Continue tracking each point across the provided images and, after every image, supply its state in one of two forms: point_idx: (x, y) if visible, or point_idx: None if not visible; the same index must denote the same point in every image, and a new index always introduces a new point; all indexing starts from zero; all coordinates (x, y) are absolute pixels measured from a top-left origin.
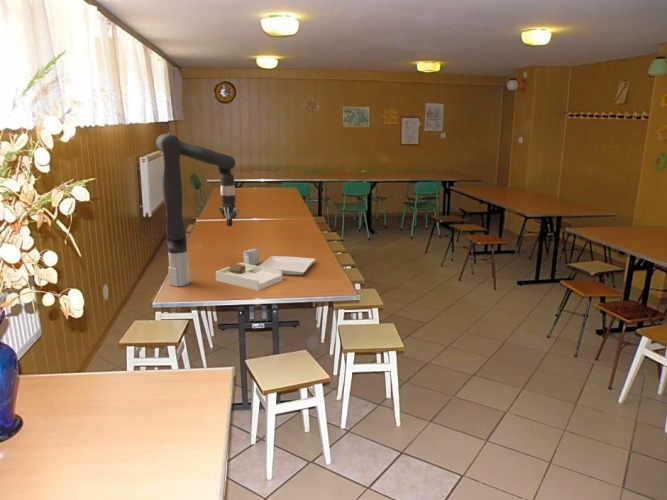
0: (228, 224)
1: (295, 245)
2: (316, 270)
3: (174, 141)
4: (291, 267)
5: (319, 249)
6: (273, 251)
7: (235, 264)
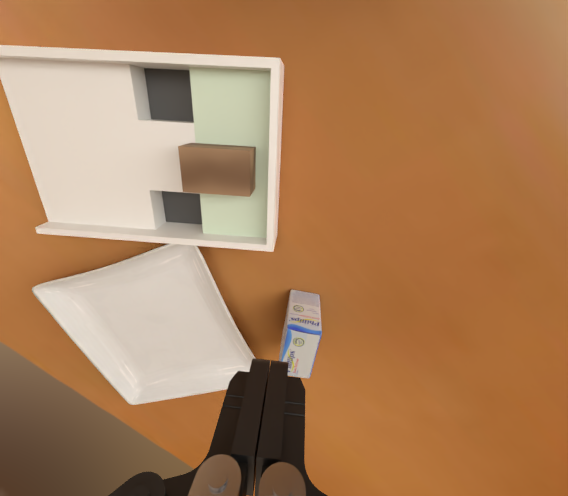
0: (258, 378)
1: None
2: None
3: None
4: (153, 334)
5: None
6: (331, 434)
7: (241, 186)
